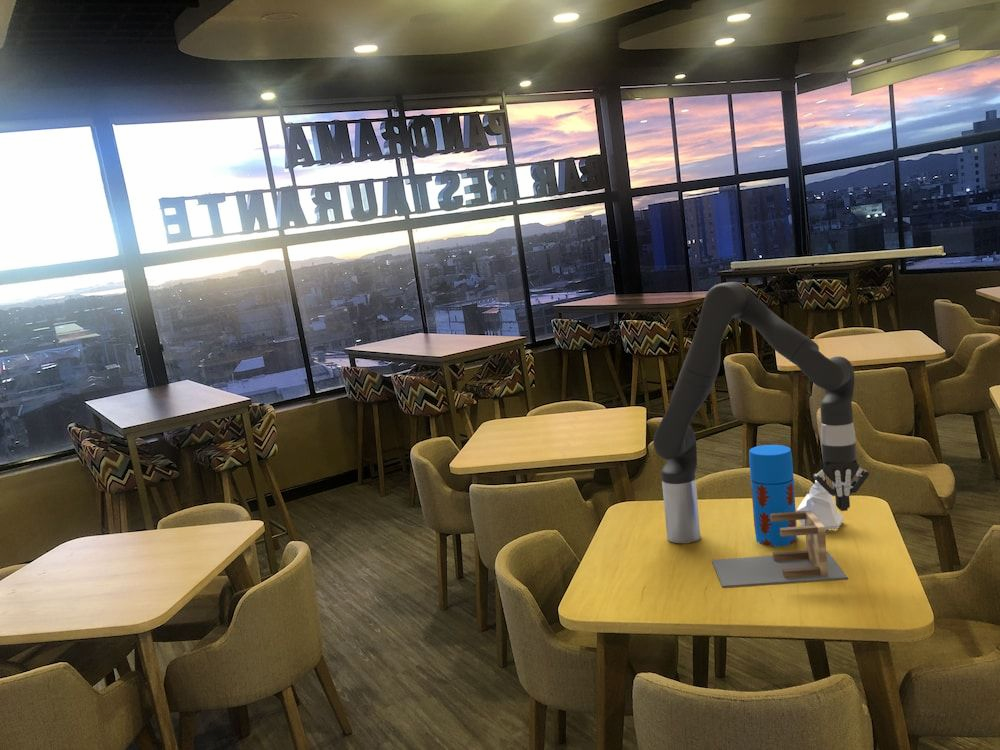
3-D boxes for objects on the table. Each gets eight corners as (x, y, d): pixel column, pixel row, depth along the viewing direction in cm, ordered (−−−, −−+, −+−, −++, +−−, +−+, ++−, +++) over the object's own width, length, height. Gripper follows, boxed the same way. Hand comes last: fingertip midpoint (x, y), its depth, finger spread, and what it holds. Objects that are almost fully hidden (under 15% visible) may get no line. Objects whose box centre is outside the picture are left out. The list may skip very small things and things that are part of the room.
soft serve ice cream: (848, 522, 228) (858, 478, 223) (830, 544, 217) (840, 498, 212) (804, 506, 236) (813, 463, 230) (785, 527, 225) (793, 483, 219)
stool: (773, 558, 205) (769, 513, 203) (813, 555, 204) (810, 510, 202) (784, 577, 193) (781, 530, 192) (827, 574, 192) (824, 526, 190)
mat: (711, 561, 209) (711, 559, 209) (827, 552, 205) (827, 551, 205) (722, 587, 193) (722, 585, 193) (847, 578, 190) (847, 577, 190)
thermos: (784, 549, 211) (777, 457, 207) (747, 541, 219) (740, 452, 215) (804, 536, 218) (799, 447, 214) (769, 529, 226) (762, 443, 222)
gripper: (861, 434, 196) (866, 502, 198) (805, 439, 197) (810, 507, 200) (872, 441, 188) (877, 512, 191) (814, 447, 190) (819, 517, 192)
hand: (843, 509), depth 195 cm, fingers closed
